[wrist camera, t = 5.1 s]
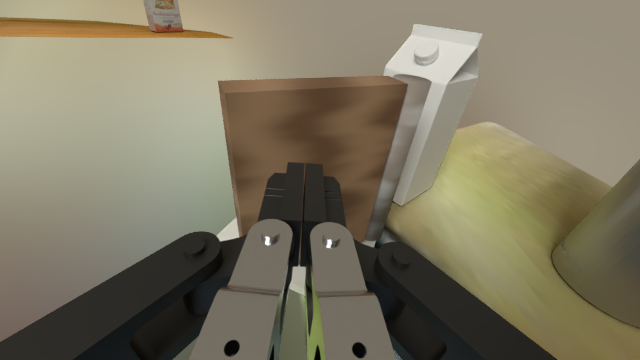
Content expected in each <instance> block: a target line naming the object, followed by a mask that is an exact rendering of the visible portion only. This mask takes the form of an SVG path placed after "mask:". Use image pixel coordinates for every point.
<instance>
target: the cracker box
mask: <svg viewBox="0 0 640 360" xmlns="http://www.w3.org/2000/svg"><path fill="white" fill-rule="evenodd" d="M143 2H144V7H145V10H146V15H147V19H148V23H149V27H150V31H154V32H183V28H182V23H181V17H180V11H179V6H178V0H143Z"/></svg>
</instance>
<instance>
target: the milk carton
mask: <svg viewBox="0 0 640 360" xmlns="http://www.w3.org/2000/svg"><path fill="white" fill-rule="evenodd" d="M482 35H483V34H480V33H473V32H467V31H460V30H453V29H447V28H440V27H433V26H427V25H420V24H414V26H413V30H412V34H411V36H410V37H409V38H408V40H407V41H406V42H405V43H404V44H403V46H402V47H401V48H400V49H399V50H398V51H397V53H396V54H395V55H394V56H393V57H392V59H391V60H390V61H389V62H388V63H387V65H386V67H385V70H384V75H383V76H390V77H393V76H394V75H396V74H407V75H414V76H419V77H423V78H426V79H428V80H430V81H431V82H432V84H431V87H430V90H429V93H428V96H427V99H426V102H425V105H424V108H423V111H422V114H421V117H420V120H419V123H418V126H417V129H416V132H415V135H414V138H413V141H412V144H411V147H410V150H409V153H408V156H407V159H406V162H405V165H404V168H403V171H402V174H401V177H400V180H399V183H398V186H397V189H396V192H395V195H394V198H393V201H394V202H395V203H397V204H398V205H400V206H403V205H404V204H406V203H407V202H409V201H411V200H412V199H414V198H415V197H417V196H418V195H420V194H422V193H423V192H425V191H426V190H428V189H429V188H431V186H432V184H433V182H434V179H435V177H436V175H437V173H438V170H439V168H440V166H441V163H442V161H443V159H444V156H445V154H446V152H447V149H448V147H449V145H450V142H451V140H452V138H453V135H454V133H455V131H456V128H457V126H458V124H459V121H460V119H461V116H462V114H463V112H464V110H465V107H466V105H467V103H468V100H469V98H470V95H471V93H472V91H473V89H474V86H475V84H476V82H477V79H478V77H479V73H478V45H479V43H480V40H481V37H482Z"/></svg>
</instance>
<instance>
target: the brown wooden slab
mask: <svg viewBox="0 0 640 360" xmlns="http://www.w3.org/2000/svg"><path fill="white" fill-rule="evenodd" d="M431 84H432V82H431V81H430V80H428V79H426V78H423V77H419V76H414V75H407V74H396V75H394V76H393V77H390V76H365V77H331V78H298V79H269V80H268V79H267V80H236V81H235V80H233V81H218V85H219V92H220V100H221V107H222V115H223V122H224V129H225V137H226V143H227V151H228V158H229V166H230V173H231V180H232V188H233V196H234V202H235V210H236V218H237V225H238V232H239V237H241V236H244V235H246V234H247V233H248V232H249V230H250V228H251V227H252V226H253V225H254V224H256V223H257V221H258V217H259V213H260V209H261V205H262V201H263V197H264V193H265V189H266V185H267V181H268V179H269V178H270V177H271V176H272V175H273V174H274V173H286V171H287V164H288V162H295V163H305V166H304V182H305V169H306V163H310V164H323V176H332V177H335V179H336V180H337V181H338V182H339V184H340V188H341V195H342V201H343V208H344V215H345V221H346V227H347V229H348V230H349V231H350V233H351V234H352V237H353V238H354V239H355V240H357V241H358V242H360V243H362V242H364V239H365V240H368V241H375V240H378V239H379V238H380V237H381V234H382V231H383V228H384V225H385V222H386V219H387V216H388V213H389V210H390V207H391V204H392V201H393V198H394V195H395V192H396V189H397V186H398V183H399V180H400V177H401V174H402V171H403V168H404V165H405V162H406V159H407V156H408V153H409V150H410V147H411V144H412V141H413V138H414V135H415V132H416V129H417V126H418V123H419V120H420V117H421V114H422V111H423V108H424V105H425V102H426V99H427V96H428V93H429V90H430V87H431ZM303 194H304V187H303ZM302 211H303V208H302ZM301 233H302V226H301ZM300 254H301V238H300V250H299V262H298V265H300ZM293 267H294V266H293Z"/></svg>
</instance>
